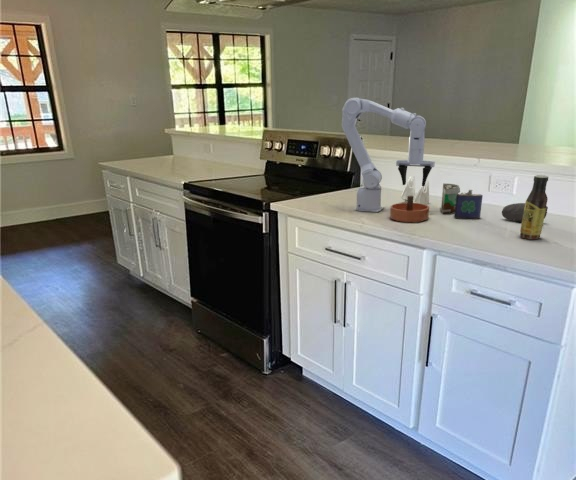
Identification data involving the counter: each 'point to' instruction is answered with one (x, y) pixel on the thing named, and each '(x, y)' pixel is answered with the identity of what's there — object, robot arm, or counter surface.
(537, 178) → the sauce bottle
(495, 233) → the counter surface
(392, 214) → the bowl
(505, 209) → the perforated stone tool
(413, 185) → the shaker set
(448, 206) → the food container
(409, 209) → the stick
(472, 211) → the flask
